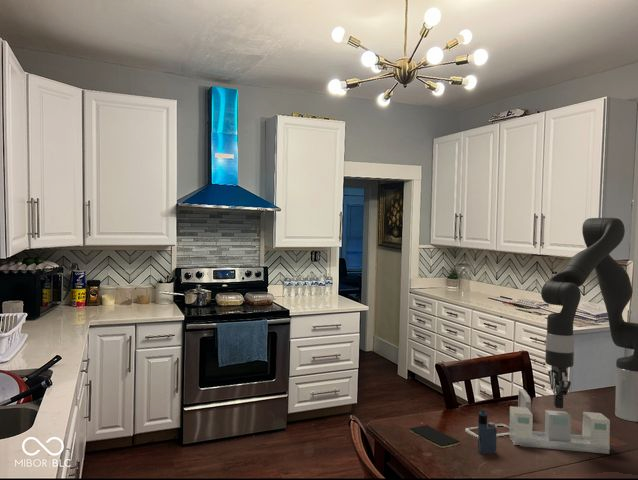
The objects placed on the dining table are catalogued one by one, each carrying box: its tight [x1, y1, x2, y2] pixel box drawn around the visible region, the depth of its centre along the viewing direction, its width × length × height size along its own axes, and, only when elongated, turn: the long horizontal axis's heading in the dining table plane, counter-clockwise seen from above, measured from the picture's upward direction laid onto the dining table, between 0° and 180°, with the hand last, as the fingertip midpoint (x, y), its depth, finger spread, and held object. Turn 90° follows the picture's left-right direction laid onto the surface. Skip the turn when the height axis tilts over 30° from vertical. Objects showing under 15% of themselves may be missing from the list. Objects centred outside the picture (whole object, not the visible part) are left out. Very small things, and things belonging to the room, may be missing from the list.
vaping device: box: [477, 408, 498, 455], centre depth 139 cm, size 3×5×12 cm, turn 95°
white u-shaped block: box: [508, 405, 611, 455], centre depth 146 cm, size 26×7×10 cm, turn 81°
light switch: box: [517, 388, 532, 413], centre depth 172 cm, size 2×12×8 cm, turn 169°
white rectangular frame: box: [464, 423, 510, 439], centre depth 154 cm, size 7×1×15 cm
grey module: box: [544, 409, 572, 442], centre depth 145 cm, size 6×4×8 cm
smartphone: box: [409, 424, 461, 449], centre depth 149 cm, size 7×1×15 cm
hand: (558, 407), depth 146 cm, fingers closed
